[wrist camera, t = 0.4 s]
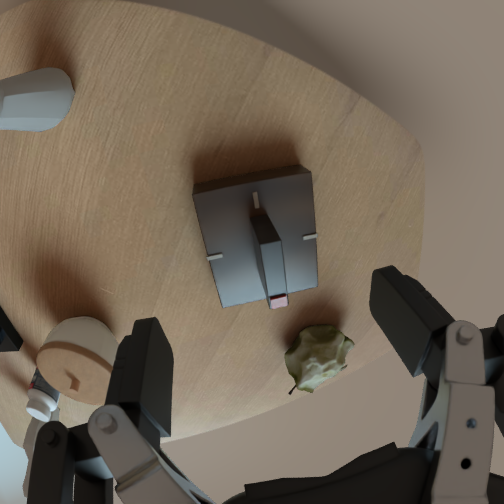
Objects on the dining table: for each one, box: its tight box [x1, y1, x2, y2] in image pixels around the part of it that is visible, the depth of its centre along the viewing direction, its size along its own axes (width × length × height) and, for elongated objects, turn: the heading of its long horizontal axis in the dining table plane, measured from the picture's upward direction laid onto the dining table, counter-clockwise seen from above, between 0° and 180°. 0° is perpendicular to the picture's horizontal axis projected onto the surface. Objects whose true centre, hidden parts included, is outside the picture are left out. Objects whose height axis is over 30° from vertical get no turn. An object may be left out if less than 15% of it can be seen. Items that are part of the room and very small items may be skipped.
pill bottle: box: [26, 367, 60, 422], centre depth 30 cm, size 5×5×9 cm
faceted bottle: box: [23, 408, 60, 497], centre depth 30 cm, size 6×6×22 cm
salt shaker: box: [0, 67, 75, 132], centre depth 13 cm, size 6×6×13 cm
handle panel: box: [192, 165, 318, 308], centre depth 27 cm, size 12×10×3 cm
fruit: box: [285, 325, 354, 395], centre depth 35 cm, size 9×9×8 cm
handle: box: [250, 214, 289, 309], centre depth 23 cm, size 6×2×5 cm, turn 9°
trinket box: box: [36, 316, 119, 405], centre depth 27 cm, size 11×11×9 cm
